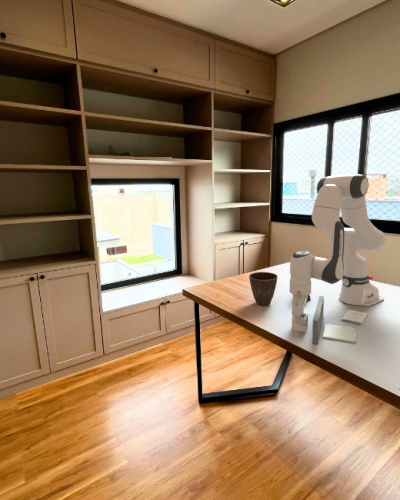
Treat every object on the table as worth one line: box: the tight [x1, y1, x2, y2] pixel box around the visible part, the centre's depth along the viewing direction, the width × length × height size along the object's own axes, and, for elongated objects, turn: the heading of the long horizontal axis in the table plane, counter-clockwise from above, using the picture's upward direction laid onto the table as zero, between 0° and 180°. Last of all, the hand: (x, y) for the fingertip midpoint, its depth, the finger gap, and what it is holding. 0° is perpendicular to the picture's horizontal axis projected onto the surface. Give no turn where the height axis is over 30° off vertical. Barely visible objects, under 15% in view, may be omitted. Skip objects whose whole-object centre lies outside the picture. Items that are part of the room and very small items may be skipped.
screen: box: [311, 295, 325, 345], centre depth 127 cm, size 28×2×10 cm, turn 153°
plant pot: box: [248, 271, 278, 307], centre depth 157 cm, size 15×15×16 cm
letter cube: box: [291, 312, 309, 333], centre depth 129 cm, size 6×6×6 cm
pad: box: [322, 323, 357, 344], centre depth 122 cm, size 12×12×1 cm
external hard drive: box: [341, 309, 368, 326], centre depth 136 cm, size 2×8×12 cm
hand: (299, 318), depth 128 cm, fingers open, 8 cm apart
